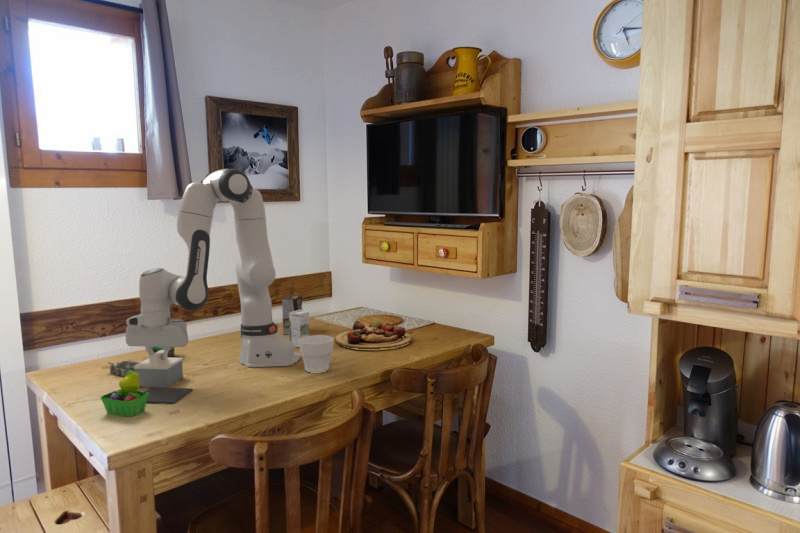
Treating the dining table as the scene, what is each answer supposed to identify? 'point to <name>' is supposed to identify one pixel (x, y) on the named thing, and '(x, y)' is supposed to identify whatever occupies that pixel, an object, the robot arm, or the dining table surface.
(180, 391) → the mat
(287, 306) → the coffee box
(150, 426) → the dining table surface
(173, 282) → the robot arm
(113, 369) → the egg carton
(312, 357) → the cup
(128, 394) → the fruit basket
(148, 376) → the crate
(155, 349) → the food container
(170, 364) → the lid
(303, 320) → the syrup box
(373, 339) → the wooden plate with food
